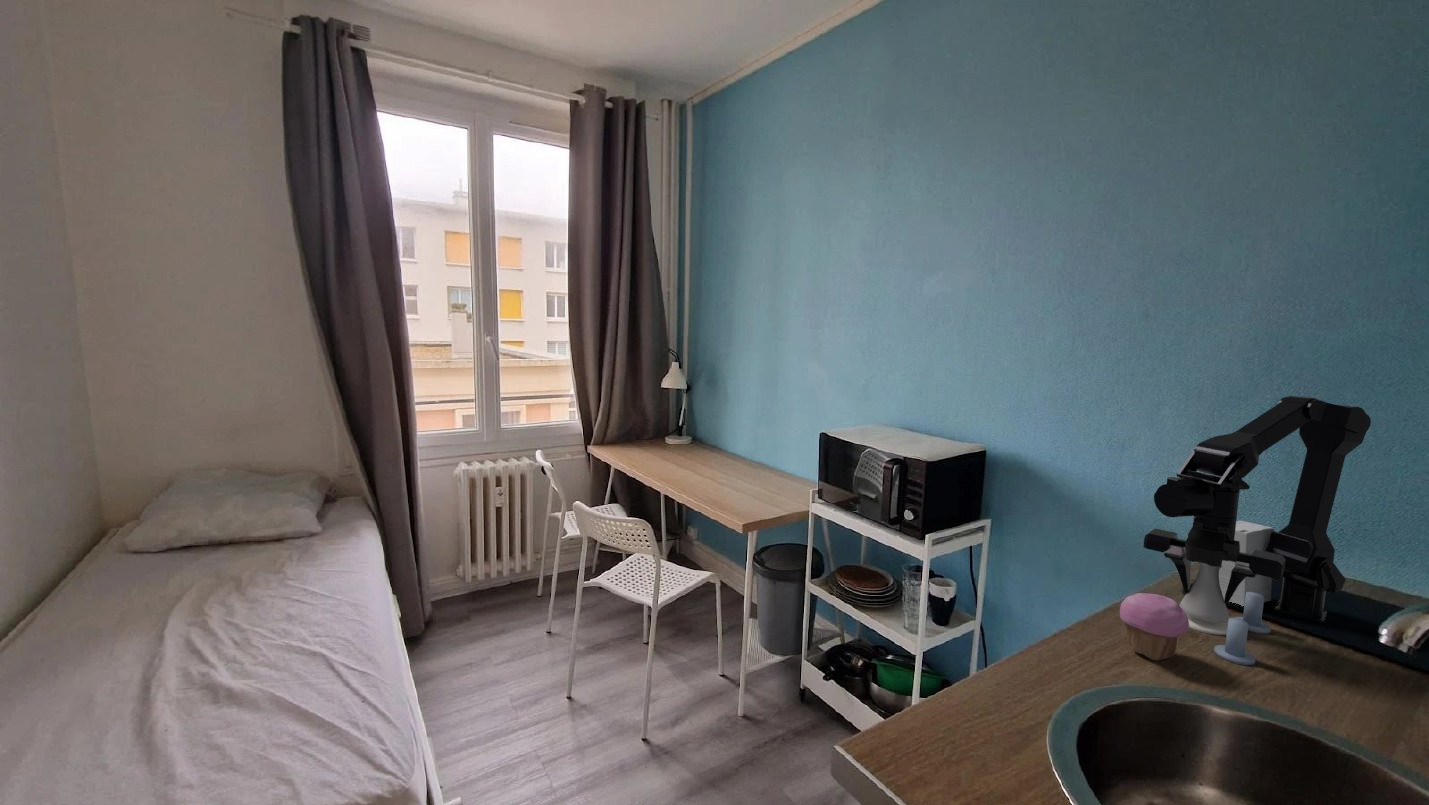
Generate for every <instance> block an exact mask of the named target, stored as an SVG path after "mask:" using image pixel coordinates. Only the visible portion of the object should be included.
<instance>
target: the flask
mask: <svg viewBox="0 0 1429 805" xmlns="http://www.w3.org/2000/svg"><path fill="white" fill-rule="evenodd" d="M1198 564H1199V570H1198V572H1197V575H1196V579H1195V580H1194V581H1193V583H1192V585H1190V586H1191V587H1190V588H1189V591H1188V593H1185V595H1184V597H1183V598H1182V600H1181V601H1180V602H1179V604H1178V605H1179V606H1180V607H1181V608H1182V609H1183V611H1184V612H1185V614H1187V615H1189V616H1191V617H1193V618H1195V619H1198V620H1203V621H1208V622H1213V623H1228V620H1229V618H1231V615H1230V613H1229V610H1228V607H1227V604H1225V601H1224V598H1223V595H1222V591H1221V588H1220V583H1219V569H1220V568H1221V567H1222V565H1221V566H1218V567H1213V566H1209V565H1208V564H1204V563H1200V562H1198Z"/></svg>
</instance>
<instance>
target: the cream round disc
mask: <svg viewBox="0 0 1429 805" xmlns="http://www.w3.org/2000/svg"><path fill="white" fill-rule="evenodd" d="M1186 615H1187V614H1186ZM1187 617H1188V621H1189V628H1188V629H1191V630H1194V631H1197V632H1200V633H1205V634H1209V635H1216V636H1227V628H1228V623H1213V622H1208V621H1203V620H1198V619H1195V618H1193V617H1191V616H1189V615H1187Z"/></svg>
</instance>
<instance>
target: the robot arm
mask: <svg viewBox="0 0 1429 805" xmlns="http://www.w3.org/2000/svg"><path fill="white" fill-rule="evenodd" d="M1371 424H1372V420H1371V417H1370V415H1368V414H1367V413H1366V411H1365V410H1364V408H1362V407H1359V406H1356V405H1355V406H1354V405H1353V406H1351V405H1344V404H1336V403H1335V404H1334V403H1330V402H1327V401H1323V400H1321V399H1318V398H1316V397H1307V396H1306V397H1305V396H1295V395H1288V396H1283V397H1282V398H1281V399H1279V401H1278V403H1277V404H1276V405H1274V406H1273V407H1271V408H1270V409H1268V410H1266V411H1265V412H1264V413H1261V415H1259V416H1258V417H1256V418H1254V419H1253V420H1252V421H1250V422H1248V423H1247V424H1245V425H1243V426H1241V428H1239V429H1238V430H1235V431H1234V432H1231V433H1226V434H1221V435H1215V436H1213V437H1210V438H1208V439H1206V440H1202V441H1201V442H1199V443H1198V444H1197V445H1196V446H1195V447H1194V448H1193V450H1192V451H1191V453H1190V454H1189V456H1188V457H1187V459H1186V460H1185V461H1184V463H1183V464H1182V466H1181V467H1180V469H1179V470H1178V472H1177V473H1176V474H1175V475H1176V477H1175V476H1170V477H1169V476H1168V477H1167V478H1166V483H1165V484H1162V485H1160V486H1159V487H1158V488H1157V490H1156V491H1155V492H1154V494H1153V501H1154V505H1155V507H1156V509H1157V510H1158V511H1159V513H1161V514H1162V515H1163V516H1165V517H1168V518H1181V517H1193V522H1192V526H1191V528H1190V530H1189V532H1188V534H1187V538H1186V539H1181V538H1178V537H1179V536H1178V532H1174V531H1169V530H1165V529H1160V528H1154V529H1152V530H1150V531H1149V532H1148V533H1146V534H1145V536H1144V538H1143V548H1144V549H1147V550H1150V551H1156V552H1160V553H1163V556H1164V557H1165V558H1168V559H1170V560H1171V562H1172V563H1173V564H1174V565H1175V568H1176V570H1177V572H1178V576H1179V578H1180V579H1179V580H1180V582H1181V585H1182V588H1183V591H1184V593H1185V594H1187V593H1188V591H1189V589H1190V588H1191V587H1190V586H1191V562H1192V563H1195V562H1197V563H1199V562H1200V563H1204V564H1208V565H1209V566H1213V567H1218V566H1221V564H1222V561H1223V560H1224V561H1232V562H1235V567H1234V568H1233V569H1232V571H1231V577H1230V581H1229V584H1228V587H1227V591H1226V594H1225V604H1226V605H1228V604H1229V603H1230V602H1229V601H1230V599H1231V597H1232V596H1233V594H1234V592H1235V590H1236V589H1237V587H1238V585H1239V584H1240V583H1241V582H1242V581H1243V580H1244V579H1245V578H1246V577H1251V578H1254V577H1255V576H1256V575H1261V576H1266V577H1270V578H1272V579H1275V580H1281V579H1282V586H1281V594H1280V598H1279V599H1278V601H1277V603H1278V602H1280V603H1279V605H1278V606H1276V605H1275V606H1274V610H1275V609H1276V610H1279V611H1284V612H1287V613H1290V614H1293V615H1296V616H1299V617H1298V618H1300V617H1303V618H1306V619H1305V620H1307V619H1313V620H1317V621H1321V620H1322V621H1321V622H1324V623H1325V621H1326V618H1325V617H1327V615H1328V611H1327V610H1324V609H1325V608H1324V607H1325V602H1326V601H1325V599H1326V594H1327V592H1329V593H1335V594H1336V593H1337V594H1338V593H1339V591H1342V590H1343V587H1344V584H1345V583H1346V578H1345V576H1344V574H1342V572H1341V571H1340V569H1339V568H1338V567H1337V565H1336V564H1335V563H1334V560H1335V552H1336V551H1335V547H1334V546H1333V544H1332V542H1331V540H1330V537H1329V536H1328V533H1327V531H1328V528H1329V527H1328V526H1329V523H1330V518H1331V515H1332V510H1333V506H1334V503H1335V499H1336V494H1337V490H1338V488H1339V483H1340V479H1341V475H1342V470H1343V467H1344V463H1345V459H1346V457H1347V455H1348V454H1350V453H1351V452H1353V451H1354V450H1355V449H1356V448H1357V447H1359V446H1360V445H1362V444H1363V442H1364V439H1365V436H1366V433H1367V432H1368V430H1369V429H1370V427H1371ZM1297 430H1298V435H1299V437H1300V438H1301V441H1302V443H1303V445H1304V446H1305V449H1306V452H1305V456H1304V460H1303V464H1302V469H1301V473H1300V477H1299V481H1298V484H1297V488H1296V493H1295V498H1294V501H1293V505H1292V509H1291V513H1290V517H1289V521H1288V523H1287V525H1285V526H1284V527H1283V528H1282V529H1280V530H1279V531H1276V530H1274V531H1273V532H1272V533H1271V534H1270V541H1269V545H1268V547H1267V549H1266V551H1267V552H1265V551H1260V550H1256V549H1255V551H1254V552H1253V553H1252V555H1251V554H1246V553H1242V552H1240V543H1239V541H1236V540H1234V538H1235V529H1236V521H1238V520H1237V518H1238V510H1239V502H1240V500H1239V499H1240V493H1241V490H1244V491H1245V490H1250V488H1251V487H1250V485H1249V483H1248V482H1246V481H1244V480H1243V478H1245V477H1246V476H1247V475H1249V473H1251V472H1252V471H1253V470H1254V469H1255V468H1256V467H1257V466H1258V465H1259V463H1260V462H1259V460H1260V455H1261V454H1262V453H1263V452H1265V451H1266V450H1268V449H1270V448H1271V447H1273V446H1274V445H1276V444H1277V443H1279V442H1280V441H1282V440H1283V439H1285V438H1286V437H1288V436H1289V435H1291V434H1292V433H1294V432H1295V431H1297ZM1200 563H1199V564H1200ZM1277 608H1278V609H1277ZM1324 611H1325V612H1324ZM1326 614H1327V615H1326ZM1296 616H1295V617H1296ZM1303 618H1302V619H1303ZM1318 619H1319V620H1318ZM1324 620H1325V621H1324Z"/></svg>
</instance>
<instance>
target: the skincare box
mask: <svg viewBox="0 0 1429 805" xmlns="http://www.w3.org/2000/svg"><path fill="white" fill-rule="evenodd" d="M1273 531H1275V528H1274V527H1271V526H1266V525H1262V524H1260V523H1259V524H1258V523H1254V522H1249V521H1245V520H1236V529H1235V538H1234V540H1236V541H1239V543H1240V552H1242V553H1246V554H1251V555H1252V553H1253V552H1254V551H1255V549H1256V550H1260V551H1265V552H1267V551H1266V549H1267V547H1268V545H1269V541H1270V534H1271V533H1272V532H1273ZM1221 565H1222V567H1221V568H1220V569H1219V583H1220V588H1221V591H1222V595H1223V598H1224V601H1225V594H1226V591H1227V587H1228V584H1229V581H1230V577H1231V571H1232V569H1233V568H1234V567H1235V562H1232V561H1224V560H1223V561H1222V564H1221ZM1272 583H1273V578H1270V577H1266V576H1261V575H1256V576H1255V577H1254V578H1251V577H1246V578H1245V579H1244V580H1243V581H1242V582H1241V583H1240V584H1239V585H1238V587H1237V589H1236V590H1235V592H1234V594H1233V596H1232V597H1231V599H1230V601H1229V602H1228V603H1230V602H1232V603H1231V604H1233V603H1236V604H1239V605H1241V606H1240V607H1243V606H1244V605H1245V597H1246V592H1255V593H1258V594H1261V595H1263V596H1264V603H1266V602H1270V601H1272V586H1273V585H1272ZM1236 604H1235V605H1236ZM1239 605H1238V606H1239Z"/></svg>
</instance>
